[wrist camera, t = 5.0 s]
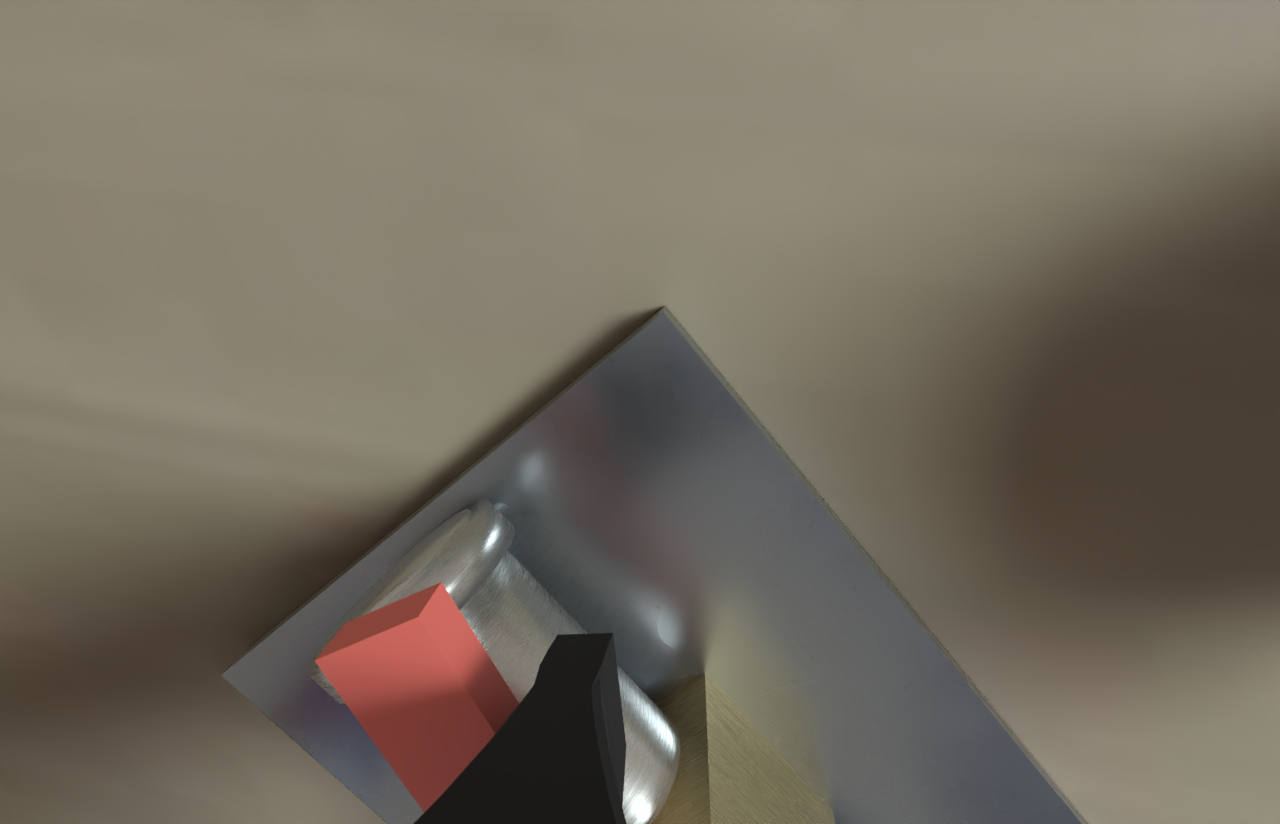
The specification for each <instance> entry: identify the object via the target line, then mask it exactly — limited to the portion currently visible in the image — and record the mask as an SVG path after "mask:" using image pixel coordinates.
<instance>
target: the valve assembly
mask: <svg viewBox="0 0 1280 824" xmlns="http://www.w3.org/2000/svg"><path fill="white" fill-rule="evenodd" d="M440 582H442V584H443V585H444V587H445V588H446V590H447V591H448V593H449V595H450V596H451V598H452V599H453V601H454V602H455V604H456V606H457V607H458V609H459V610H460V612H461V613H462V615H463V616H464V618H465V620H466V621H467V623H468V624H469V626H470V627H471V629H472V631H473V632H474V634H475V635H476V637H477V638H478V640H479V641H480V643H481V645H482V646H483V648H484V649H485V651H486V652H487V654H488V656H489V657H490V659H491V660H492V662H493V663H494V665H495V666H496V668H497V670H498V671H499V673H500V674H501V676H502V677H503V679H504V681H505V682H506V684H507V685H508V687H509V688H510V690H511V691H512V693H513V695H514V696H515V698H516V699H517V701H518V702H519V703H520V702H521V701H522V700H523V698H524V697H525V696H526V694H527V693H528V692H529V691H530V689H531V688H532V687H533V685H534V683H535V679H536V676H537V673H538V670H539V666H540V664H541V662H542V660H543V658H544V656H545V654H546V652H547V651H548V649H549V647H550V646H551V644H552V643H553V641H554V639H555V638H556V636H557V635H563V634H594V633H613V636H614V644H615V653H616V662H617V670H618V679H619V687H620V696H621V704H622V713H623V722H624V730H625V739H626V759H625V776H624V791H623V805H622V808H623V812H624V816H625V820H626V823H627V824H1088V823H1087V822H1086V821H1085V820H1084V818H1083V817H1082V816H1081V815H1080V814H1079V812H1078V811H1077V810H1076V809H1075V807H1074V806H1073V805H1072V804H1071V803H1070V801H1069V800H1068V799H1067V798H1066V796H1065V795H1064V794H1063V793H1062V791H1061V790H1060V789H1059V788H1058V787H1057V785H1056V784H1055V783H1054V782H1053V780H1052V779H1051V778H1050V777H1049V776H1048V774H1047V773H1046V772H1045V771H1044V769H1043V768H1042V767H1041V766H1040V765H1039V763H1038V762H1037V761H1036V760H1035V758H1034V757H1033V756H1032V755H1031V753H1030V752H1029V751H1028V750H1027V749H1026V747H1025V746H1024V745H1023V744H1022V742H1021V741H1020V740H1019V739H1018V738H1017V736H1016V735H1015V734H1014V733H1013V731H1012V730H1011V729H1010V728H1009V727H1008V725H1007V724H1006V723H1005V722H1004V720H1003V719H1002V718H1001V717H1000V715H999V714H998V713H997V712H996V711H995V709H994V708H993V707H992V706H991V704H990V703H989V702H988V701H987V700H986V698H985V697H984V696H983V695H982V693H981V692H980V691H979V690H978V688H977V687H976V686H975V685H974V684H973V682H972V681H971V680H970V679H969V677H968V676H967V675H966V674H965V673H964V671H963V670H962V669H961V668H960V666H959V665H958V664H957V663H956V662H955V660H954V659H953V658H952V657H951V655H950V654H949V653H948V652H947V650H946V649H945V648H944V647H943V646H942V644H941V643H940V642H939V641H938V639H937V638H936V637H935V636H934V635H933V633H932V632H931V631H930V630H929V628H928V627H927V626H926V625H925V624H924V622H923V621H922V620H921V619H920V617H919V616H918V615H917V614H916V612H915V611H914V610H913V609H912V608H911V606H910V605H909V604H908V603H907V601H906V600H905V599H904V598H903V597H902V595H901V594H900V593H899V592H898V590H897V589H896V588H895V587H894V586H893V584H892V583H891V582H890V581H889V579H888V578H887V577H886V576H885V574H884V573H883V572H882V571H881V570H880V568H879V567H878V566H877V565H876V563H875V562H874V561H873V560H872V559H871V557H870V556H869V555H868V554H867V552H866V551H865V550H864V549H863V548H862V546H861V545H860V544H859V543H858V541H857V540H856V539H855V538H854V536H853V535H852V534H851V533H850V532H849V530H848V529H847V528H846V527H845V525H844V524H843V523H842V522H841V521H840V519H839V518H838V517H837V516H836V514H835V513H834V512H833V511H832V510H831V508H830V507H829V506H828V505H827V503H826V502H825V501H824V500H823V498H822V497H821V496H820V495H819V494H818V492H817V491H816V490H815V489H814V487H813V486H812V485H811V484H810V483H809V481H808V480H807V479H806V478H805V476H804V475H803V474H802V473H801V472H800V470H799V469H798V468H797V467H796V465H795V464H794V463H793V462H792V460H791V459H790V458H789V457H788V456H787V454H786V453H785V452H784V451H783V449H782V448H781V447H780V446H779V445H778V443H777V442H776V441H775V440H774V438H773V437H772V436H771V435H770V434H769V432H768V431H767V430H766V429H765V427H764V426H763V425H762V424H761V422H760V421H759V420H758V419H757V418H756V416H755V415H754V414H753V413H752V411H751V410H750V409H749V408H748V407H747V405H746V404H745V403H744V402H743V400H742V399H741V398H740V397H739V396H738V394H737V393H736V392H735V391H734V389H733V388H732V387H731V386H730V384H729V383H728V382H727V381H726V380H725V378H724V377H723V376H722V375H721V373H720V372H719V371H718V370H717V369H716V367H715V366H714V365H713V364H712V362H711V361H710V360H709V359H708V358H707V356H706V355H705V354H704V353H703V351H702V350H701V349H700V348H699V346H698V345H697V344H696V343H695V342H694V340H693V339H692V338H691V337H690V335H689V334H688V333H687V332H686V331H685V329H684V328H683V327H682V326H681V324H680V323H679V322H678V321H677V320H676V318H675V317H674V316H673V315H672V313H671V312H670V311H669V310H668V308H667V307H666V306H664V307H663V308H661V309H660V310H659V311H658V312H657V313H655V314H654V315H653V316H652V317H650V318H649V319H648V320H647V321H646V322H644V323H643V324H642V325H641V326H640V327H638V328H637V329H636V330H635V331H633V332H632V333H631V334H630V335H629V336H627V337H626V338H625V339H624V340H623V341H621V342H620V343H619V344H618V345H616V346H615V347H614V348H613V349H612V350H610V351H609V352H608V353H607V354H606V355H604V356H603V357H602V358H601V359H599V360H598V361H597V362H596V363H595V364H593V365H592V366H591V367H590V368H588V369H587V370H586V371H585V372H584V373H582V374H581V375H580V376H579V377H578V378H576V379H575V380H574V381H573V382H571V383H570V384H569V385H568V386H567V387H565V388H564V389H563V390H562V391H561V392H559V393H558V394H557V395H556V396H554V397H553V398H552V399H551V400H550V401H548V402H547V403H546V404H545V405H544V406H542V407H541V408H540V409H539V410H537V411H536V412H535V413H534V414H533V415H531V416H530V417H529V418H528V419H527V420H525V421H524V422H523V423H522V424H520V425H519V426H518V427H517V428H516V429H514V430H513V431H512V432H511V433H509V434H508V435H507V436H506V437H505V438H503V439H502V440H501V441H500V442H499V443H497V444H496V445H495V446H494V447H492V448H491V449H490V450H489V451H488V452H486V453H485V454H484V455H483V456H482V457H480V458H479V459H478V460H477V461H475V462H474V463H473V464H472V465H471V466H469V467H468V468H467V469H466V470H465V471H463V472H462V473H461V474H460V475H458V476H457V477H456V478H455V479H454V480H452V481H451V482H450V483H449V484H447V485H446V486H445V487H444V488H443V489H441V490H440V491H439V492H438V493H437V494H435V495H434V496H433V497H432V498H430V499H429V500H428V501H427V502H426V503H424V504H423V505H422V506H421V507H420V508H418V509H417V510H416V511H415V512H413V513H412V514H411V515H410V516H409V517H407V518H406V519H405V520H404V521H403V522H401V523H400V524H399V525H398V526H396V527H395V528H394V529H393V530H392V531H390V532H389V533H388V534H387V535H385V536H384V537H383V538H382V539H381V540H379V541H378V542H377V543H376V544H375V545H373V546H372V547H371V548H370V549H368V550H367V551H366V552H365V553H364V554H362V555H361V556H360V557H359V558H358V559H356V560H355V561H354V562H353V563H351V564H350V565H349V566H348V567H347V568H345V569H344V570H343V571H342V572H341V573H339V574H338V575H337V576H336V577H334V578H333V579H332V580H331V581H330V582H328V583H327V584H326V585H325V586H323V587H322V588H321V589H320V590H319V591H317V592H316V593H315V594H314V595H313V596H311V597H310V598H309V599H308V600H306V601H305V602H304V603H303V604H302V605H300V606H299V607H298V608H297V609H296V610H294V611H293V612H292V613H291V614H289V615H288V616H287V617H286V618H285V619H283V620H282V621H281V622H280V623H279V624H277V625H276V626H275V627H274V628H272V629H271V630H270V631H269V632H268V633H266V634H265V635H264V636H263V637H261V638H260V639H259V640H258V641H257V642H255V643H254V644H253V645H252V646H251V647H249V648H248V649H247V650H246V651H245V652H244V653H243V654H242V655H241V656H240V657H239V658H238V659H237V660H236V661H235V662H234V663H233V664H232V665H231V666H230V667H229V668H228V669H227V670H226V671H225V672H224V673H223V674H222V675H221V676H222V677H223V678H224V679H225V680H226V681H227V682H229V683H230V684H231V685H232V686H233V687H234V688H235V689H236V690H238V691H239V692H240V693H241V694H242V695H243V696H244V697H245V698H247V699H248V700H249V701H250V702H251V703H252V704H253V705H254V706H256V707H257V708H258V709H259V710H260V711H261V712H262V713H263V714H265V715H266V716H267V717H268V718H269V719H270V720H271V721H272V722H274V723H275V724H276V725H277V726H278V727H279V728H280V729H281V730H283V731H284V732H285V733H286V734H287V735H288V736H289V737H290V738H292V739H293V740H294V741H295V742H296V743H297V744H298V745H299V746H301V747H302V748H303V749H304V750H305V751H306V752H307V753H308V754H310V755H311V756H312V757H313V758H314V759H315V760H316V761H317V762H319V763H320V764H321V765H322V766H323V767H324V768H325V769H326V770H328V771H329V772H330V773H331V774H332V775H333V776H334V777H335V778H337V779H338V780H339V781H340V782H341V783H342V784H343V785H344V786H346V787H347V788H348V789H349V790H350V791H351V792H352V793H353V794H355V795H356V796H357V797H358V798H359V799H360V800H361V801H362V802H364V803H365V804H366V805H367V806H368V807H369V808H370V809H371V810H373V811H374V812H375V813H376V814H377V815H378V816H379V817H380V818H382V819H383V820H384V821H385V822H386V823H387V824H413V823H414V822H415V821H416V820H417V819H418V818H419V817H420V816H421V815H422V814H423V813H424V812H423V810H422V809H421V808H420V806H419V805H418V803H417V802H416V801H415V799H414V798H413V796H412V795H411V794H410V792H409V791H408V789H407V788H406V787H405V785H404V784H403V783H402V781H401V780H400V778H399V777H398V776H397V774H396V773H395V771H394V770H393V769H392V767H391V766H390V765H389V763H388V762H387V760H386V759H385V758H384V756H383V755H382V753H381V752H380V751H379V749H378V748H377V747H376V745H375V744H374V742H373V741H372V740H371V738H370V737H369V735H368V734H367V733H366V731H365V730H364V729H363V727H362V726H361V724H360V723H359V722H358V720H357V719H356V717H355V716H354V715H353V713H352V712H351V710H350V709H349V708H348V706H347V705H346V704H345V702H344V701H343V699H342V698H341V697H340V695H339V694H338V692H337V691H336V690H335V688H334V687H333V686H332V684H331V683H330V681H329V680H328V679H327V677H326V676H325V674H324V673H323V672H322V670H321V669H320V668H319V666H318V665H317V663H316V662H315V659H316V658H317V657H318V656H319V654H320V653H321V652H322V651H323V650H324V648H325V647H326V646H327V645H328V644H329V642H330V641H331V640H332V639H333V638H334V636H335V635H336V634H337V633H338V632H339V630H340V629H341V628H342V627H343V626H344V624H345V623H347V622H349V621H352V620H354V619H356V618H359V617H361V616H363V615H366V614H368V613H370V612H373V611H375V610H377V609H380V608H382V607H384V606H386V605H389V604H391V603H393V602H396V601H398V600H400V599H403V598H405V597H407V596H410V595H412V594H414V593H417V592H419V591H421V590H424V589H426V588H428V587H431V586H433V585H435V584H438V583H440Z"/></svg>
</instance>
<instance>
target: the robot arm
mask: <svg viewBox="0 0 1280 824" xmlns="http://www.w3.org/2000/svg"><path fill="white" fill-rule="evenodd" d="M625 759H626V739H625V730H624V722H623V713H622V704H621V696H620V687H619V679H618V670H617V662H616V653H615V644H614V636H613V633H594V634H563V635H557V636H556V638H555V639H554V641H553V643H552V644H551V646H550V647H549V649H548V651H547V652H546V654H545V656H544V658H543V660H542V662H541V664H540V666H539V670H538V673H537V676H536V679H535V683H534V685H533V687H532V688H531V689H530V691H529V692H528V693H527V694H526V696H525V697H524V698H523V700H522V701H521V702H520V703H519V705H518V706H517V707H516V708H515V710H514V711H513V712H512V713H511V715H510V716H509V717H508V718H507V720H506V721H505V722H504V723H503V725H502V726H501V727H500V728H499V730H498V731H497V732H496V733H495V735H494V736H493V737H492V738H491V739H490V741H489V742H488V743H487V744H486V745H485V746H484V748H483V749H482V750H481V751H480V752H479V753H478V754H477V755H476V757H475V758H474V759H473V760H472V761H471V762H470V763H469V764H468V766H467V767H466V768H465V769H464V770H463V771H462V772H461V773H460V775H459V776H458V777H457V778H456V779H455V780H454V781H453V782H452V784H451V785H450V786H449V787H448V788H447V789H446V790H445V791H444V792H443V794H442V795H441V796H440V797H439V798H438V799H437V800H436V801H435V802H434V803H433V804H432V805H431V806H430V807H429V808H428V809H427V810H426V811H425V812H424V813H423V814H422V815H421V816H420V817H419V818H418V819H417V820H416V821H415V822H414V823H413V824H627V823H626V820H625V816H624V812H623V808H622V805H623V791H624V776H625Z"/></svg>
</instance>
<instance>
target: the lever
mask: <svg viewBox="0 0 1280 824" xmlns="http://www.w3.org/2000/svg"><path fill="white" fill-rule="evenodd" d="M315 662H316V663H317V665H318V666H319V668H320V669H321V670H322V672H323V673H324V674H325V676H326V677H327V679H328V680H329V681H330V683H331V684H332V686H333V687H334V688H335V690H336V691H337V692H338V694H339V695H340V697H341V698H342V699H343V701H344V702H345V704H346V705H347V706H348V708H349V709H350V710H351V712H352V713H353V715H354V716H355V717H356V719H357V720H358V722H359V723H360V724H361V726H362V727H363V729H364V730H365V731H366V733H367V734H368V735H369V737H370V738H371V740H372V741H373V742H374V744H375V745H376V747H377V748H378V749H379V751H380V752H381V753H382V755H383V756H384V758H385V759H386V760H387V762H388V763H389V765H390V766H391V767H392V769H393V770H394V771H395V773H396V774H397V776H398V777H399V778H400V780H401V781H402V783H403V784H404V785H405V787H406V788H407V789H408V791H409V792H410V794H411V795H412V796H413V798H414V799H415V801H416V802H417V803H418V805H419V806H420V808H421V809H422V810H423V812H425V811H426V810H427V809H428V808H429V807H430V806H431V805H432V804H433V803H434V802H435V801H436V800H437V799H438V798H439V797H440V796H441V795H442V794H443V792H444V791H445V790H446V789H447V788H448V787H449V786H450V785H451V784H452V782H453V781H454V780H455V779H456V778H457V777H458V776H459V775H460V773H461V772H462V771H463V770H464V769H465V768H466V767H467V766H468V764H469V763H470V762H471V761H472V760H473V759H474V758H475V757H476V755H477V754H478V753H479V752H480V751H481V750H482V749H483V748H484V746H485V745H486V744H487V743H488V742H489V741H490V739H491V738H492V737H493V736H494V735H495V733H496V732H497V731H498V730H499V728H500V727H501V726H502V725H503V723H504V722H505V721H506V720H507V718H508V717H509V716H510V715H511V713H512V712H513V711H514V710H515V708H516V707H517V706H518V705H519V702H518V701H517V699H516V698H515V696H514V695H513V693H512V691H511V690H510V688H509V687H508V685H507V684H506V682H505V681H504V679H503V677H502V676H501V674H500V673H499V671H498V670H497V668H496V666H495V665H494V663H493V662H492V660H491V659H490V657H489V656H488V654H487V652H486V651H485V649H484V648H483V646H482V645H481V643H480V641H479V640H478V638H477V637H476V635H475V634H474V632H473V631H472V629H471V627H470V626H469V624H468V623H467V621H466V620H465V618H464V616H463V615H462V613H461V612H460V610H459V609H458V607H457V606H456V604H455V602H454V601H453V599H452V598H451V596H450V595H449V593H448V591H447V590H446V588H445V587H444V585H443V584H442V582H440V583H438V584H435V585H433V586H431V587H428V588H426V589H424V590H421V591H419V592H417V593H414V594H412V595H410V596H407V597H405V598H403V599H400V600H398V601H396V602H393V603H391V604H389V605H386V606H384V607H382V608H380V609H377V610H375V611H373V612H370V613H368V614H366V615H363V616H361V617H359V618H356V619H354V620H352V621H349V622H347V623H345V624H344V626H343V627H342V628H341V629H340V630H339V632H338V633H337V634H336V635H335V636H334V638H333V639H332V640H331V641H330V642H329V644H328V645H327V646H326V647H325V648H324V650H323V651H322V652H321V653H320V654H319V656H318V657H317V658H316V659H315Z"/></svg>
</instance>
